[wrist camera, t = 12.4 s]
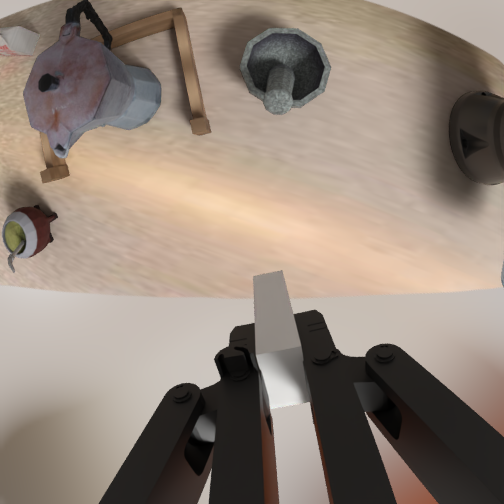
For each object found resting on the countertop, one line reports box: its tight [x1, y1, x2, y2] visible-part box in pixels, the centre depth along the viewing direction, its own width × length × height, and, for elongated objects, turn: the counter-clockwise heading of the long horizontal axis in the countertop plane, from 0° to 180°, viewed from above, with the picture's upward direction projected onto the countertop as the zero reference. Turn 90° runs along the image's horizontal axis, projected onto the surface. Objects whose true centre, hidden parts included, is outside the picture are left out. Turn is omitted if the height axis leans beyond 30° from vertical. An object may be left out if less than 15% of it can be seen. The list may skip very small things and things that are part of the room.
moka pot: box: [23, 0, 161, 158], centre depth 26 cm, size 10×15×20 cm, turn 0°
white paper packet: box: [0, 26, 40, 56], centre depth 26 cm, size 4×7×10 cm, turn 72°
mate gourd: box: [2, 205, 58, 273], centre depth 34 cm, size 8×8×15 cm
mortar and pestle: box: [240, 28, 331, 115], centre depth 30 cm, size 11×9×12 cm
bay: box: [40, 8, 211, 183], centre depth 33 cm, size 17×23×5 cm
